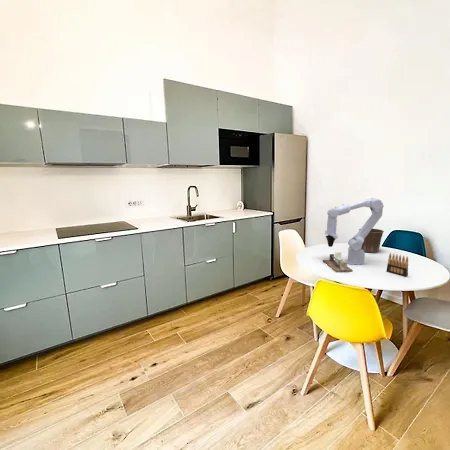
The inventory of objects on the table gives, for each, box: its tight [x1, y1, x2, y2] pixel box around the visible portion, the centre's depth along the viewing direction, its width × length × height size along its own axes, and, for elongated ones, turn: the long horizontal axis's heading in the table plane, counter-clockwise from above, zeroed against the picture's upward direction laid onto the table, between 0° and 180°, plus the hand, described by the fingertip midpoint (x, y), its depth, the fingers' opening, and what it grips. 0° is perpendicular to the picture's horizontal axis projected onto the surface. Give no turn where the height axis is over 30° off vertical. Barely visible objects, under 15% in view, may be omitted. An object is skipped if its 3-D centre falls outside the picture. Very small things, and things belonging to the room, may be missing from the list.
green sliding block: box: [334, 251, 344, 264], centre depth 163 cm, size 4×4×6 cm
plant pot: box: [358, 228, 384, 254], centre depth 195 cm, size 16×16×16 cm
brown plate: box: [322, 253, 354, 273], centre depth 166 cm, size 10×20×6 cm, turn 2°
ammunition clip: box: [385, 252, 409, 278], centre depth 150 cm, size 11×2×12 cm, turn 33°
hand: (330, 246), depth 174 cm, fingers closed
